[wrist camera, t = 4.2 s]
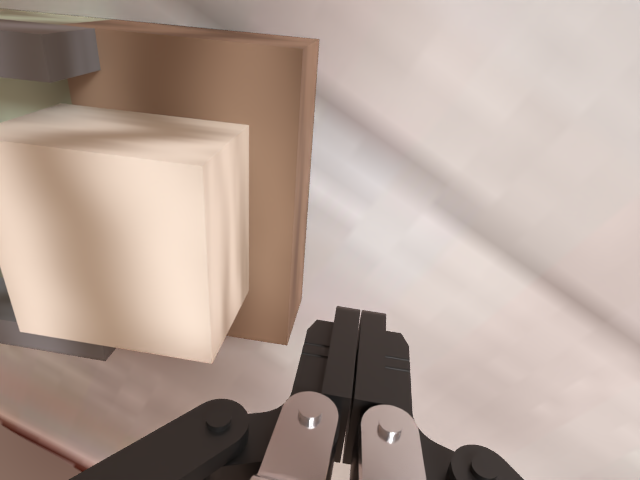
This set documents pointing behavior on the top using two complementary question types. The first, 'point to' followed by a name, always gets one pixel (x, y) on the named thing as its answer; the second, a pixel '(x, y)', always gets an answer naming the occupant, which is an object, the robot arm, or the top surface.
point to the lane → (188, 102)
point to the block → (125, 228)
